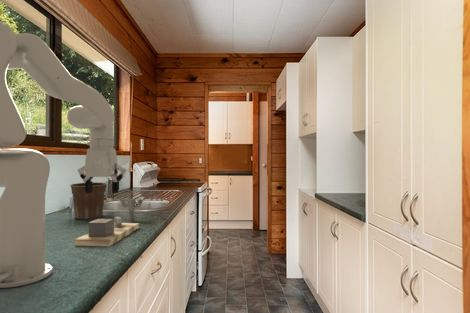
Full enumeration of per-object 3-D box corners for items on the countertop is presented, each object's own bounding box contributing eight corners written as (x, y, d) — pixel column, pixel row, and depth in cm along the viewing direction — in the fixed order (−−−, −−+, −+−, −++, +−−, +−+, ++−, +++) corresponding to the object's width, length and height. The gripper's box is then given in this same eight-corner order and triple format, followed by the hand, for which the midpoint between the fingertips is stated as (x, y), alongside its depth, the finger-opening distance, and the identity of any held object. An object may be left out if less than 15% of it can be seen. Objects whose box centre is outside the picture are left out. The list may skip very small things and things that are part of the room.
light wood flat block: (109, 246, 96) (109, 229, 96) (74, 245, 97) (74, 228, 97) (139, 228, 120) (139, 214, 120) (111, 227, 121) (111, 214, 121)
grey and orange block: (105, 237, 99) (105, 222, 99) (88, 237, 100) (88, 221, 100) (114, 232, 105) (114, 218, 105) (98, 232, 106) (98, 218, 106)
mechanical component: (140, 221, 131) (140, 199, 131) (119, 220, 133) (119, 199, 133) (143, 220, 134) (143, 198, 134) (123, 219, 136) (123, 198, 136)
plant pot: (109, 218, 138) (108, 184, 138) (70, 222, 130) (69, 186, 130) (105, 212, 152) (105, 181, 152) (70, 215, 145) (70, 183, 144)
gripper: (72, 144, 100) (72, 194, 100) (120, 144, 99) (120, 194, 99) (84, 145, 107) (85, 191, 107) (130, 144, 106) (130, 191, 106)
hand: (102, 192), depth 103 cm, fingers open, 9 cm apart
